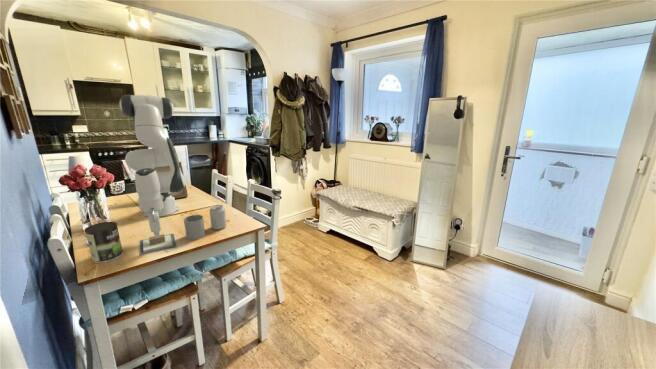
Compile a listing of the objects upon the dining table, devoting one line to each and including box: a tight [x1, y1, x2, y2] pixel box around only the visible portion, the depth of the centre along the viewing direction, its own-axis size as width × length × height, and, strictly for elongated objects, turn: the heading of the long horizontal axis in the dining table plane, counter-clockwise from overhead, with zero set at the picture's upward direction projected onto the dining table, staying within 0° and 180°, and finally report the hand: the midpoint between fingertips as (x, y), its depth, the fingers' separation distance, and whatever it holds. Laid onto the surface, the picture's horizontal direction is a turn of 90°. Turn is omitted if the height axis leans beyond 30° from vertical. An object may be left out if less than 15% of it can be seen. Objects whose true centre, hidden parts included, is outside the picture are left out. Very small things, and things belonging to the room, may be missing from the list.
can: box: [209, 204, 227, 231], centre depth 139 cm, size 8×8×12 cm
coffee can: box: [84, 221, 124, 264], centre depth 109 cm, size 10×10×14 cm
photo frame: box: [154, 161, 189, 199], centre depth 181 cm, size 15×22×25 cm
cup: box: [183, 214, 206, 241], centre depth 128 cm, size 8×8×10 cm
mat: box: [138, 233, 178, 257], centre depth 122 cm, size 16×14×1 cm
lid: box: [142, 233, 172, 252], centre depth 121 cm, size 11×11×3 cm
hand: (156, 233), depth 120 cm, fingers open, 8 cm apart
